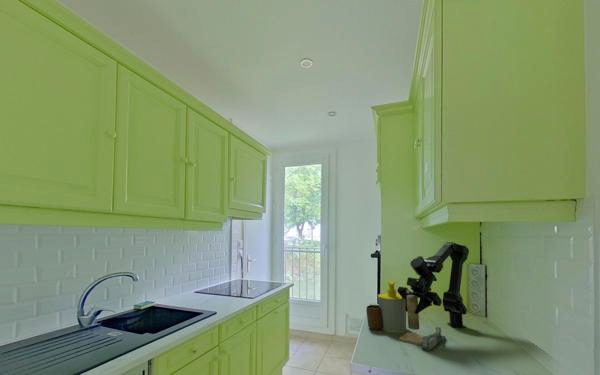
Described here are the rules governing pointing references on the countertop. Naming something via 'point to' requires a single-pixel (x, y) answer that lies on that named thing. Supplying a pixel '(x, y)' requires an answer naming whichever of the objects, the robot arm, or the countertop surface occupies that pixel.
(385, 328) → the soap bottle
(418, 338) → the terracotta tile
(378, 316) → the mug
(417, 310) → the robot arm
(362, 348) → the countertop surface
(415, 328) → the tan wooden cylinder
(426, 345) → the gray metal frame
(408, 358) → the countertop surface
